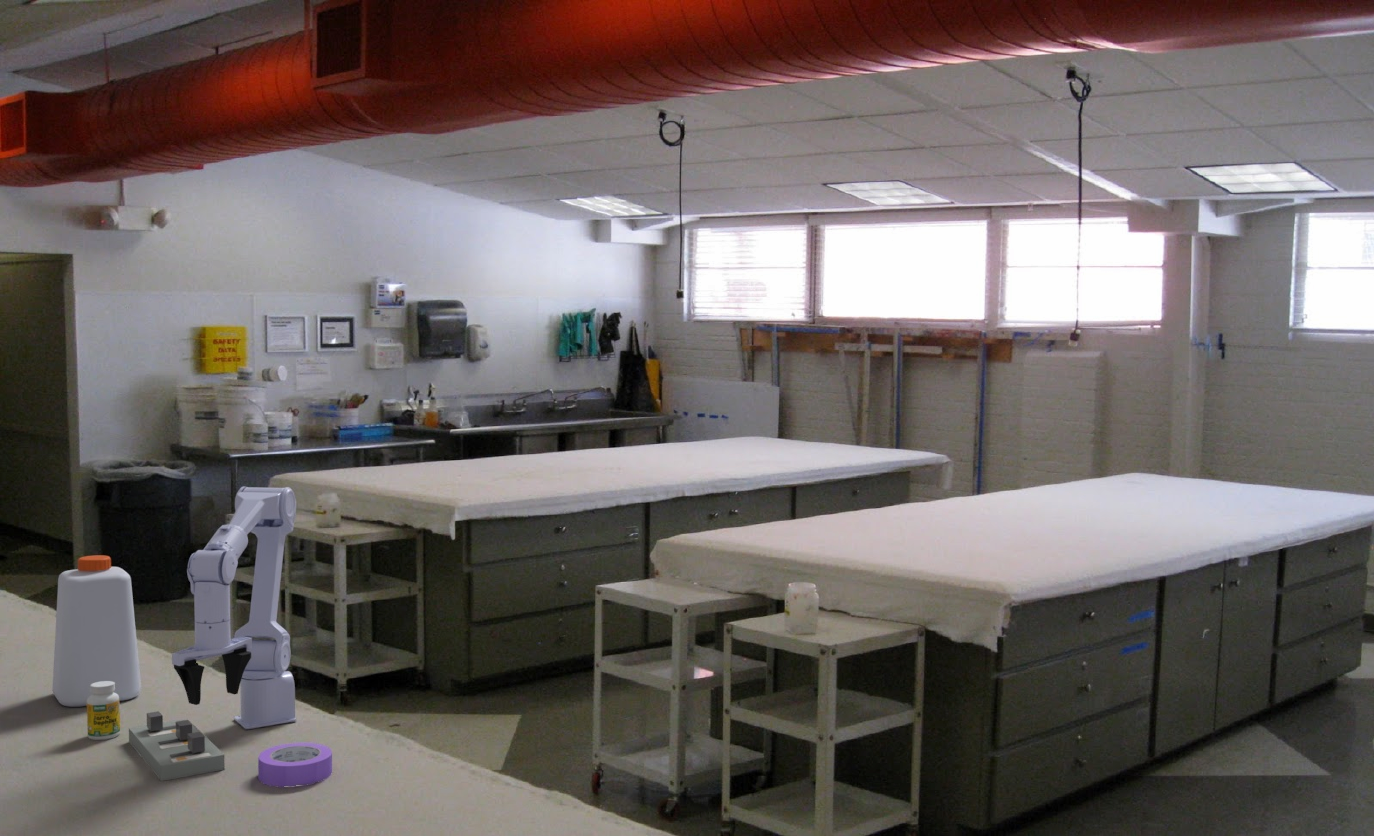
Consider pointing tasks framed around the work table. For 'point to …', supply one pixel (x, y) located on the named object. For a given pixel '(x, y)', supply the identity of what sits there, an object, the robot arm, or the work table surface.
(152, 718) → the slider back
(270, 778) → the masking tape
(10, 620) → the work table surface
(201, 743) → the block
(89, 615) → the plastic bottle
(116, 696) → the supplement bottle
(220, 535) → the robot arm
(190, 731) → the slider middle
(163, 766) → the switch panel
